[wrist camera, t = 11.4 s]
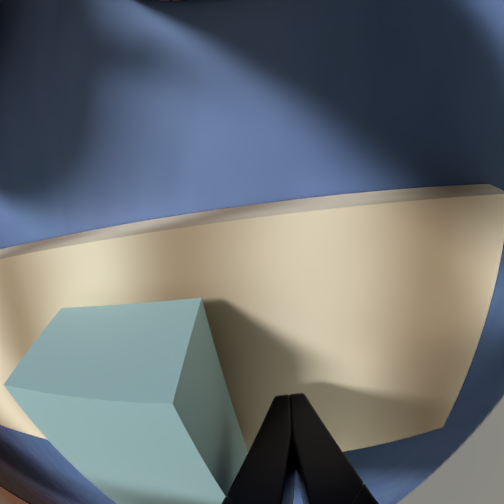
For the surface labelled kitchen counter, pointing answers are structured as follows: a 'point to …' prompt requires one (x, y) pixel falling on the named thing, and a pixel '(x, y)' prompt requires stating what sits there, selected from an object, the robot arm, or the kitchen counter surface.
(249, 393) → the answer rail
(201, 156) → the kitchen counter surface
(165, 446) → the pale teal oblong prism
